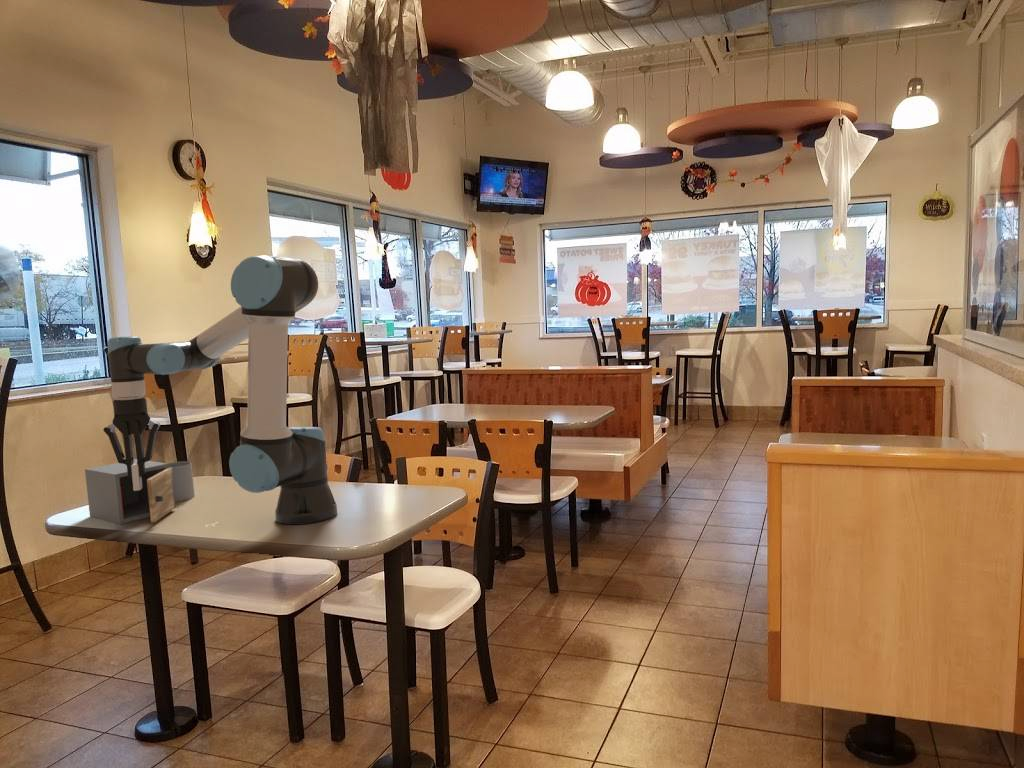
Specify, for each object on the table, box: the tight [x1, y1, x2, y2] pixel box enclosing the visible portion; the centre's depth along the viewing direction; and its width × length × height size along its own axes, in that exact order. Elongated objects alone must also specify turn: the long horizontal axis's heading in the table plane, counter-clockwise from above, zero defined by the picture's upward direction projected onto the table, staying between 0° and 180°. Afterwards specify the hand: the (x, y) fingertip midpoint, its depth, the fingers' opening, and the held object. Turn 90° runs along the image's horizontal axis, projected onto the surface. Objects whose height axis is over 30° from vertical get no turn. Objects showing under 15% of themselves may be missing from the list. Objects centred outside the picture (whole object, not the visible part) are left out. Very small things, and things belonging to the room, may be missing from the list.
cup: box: [167, 461, 196, 503], centre depth 212 cm, size 8×8×10 cm
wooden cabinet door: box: [147, 468, 176, 523], centre depth 191 cm, size 2×14×11 cm, turn 5°
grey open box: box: [84, 458, 168, 525], centre depth 197 cm, size 16×14×13 cm
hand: (138, 489), depth 187 cm, fingers closed
